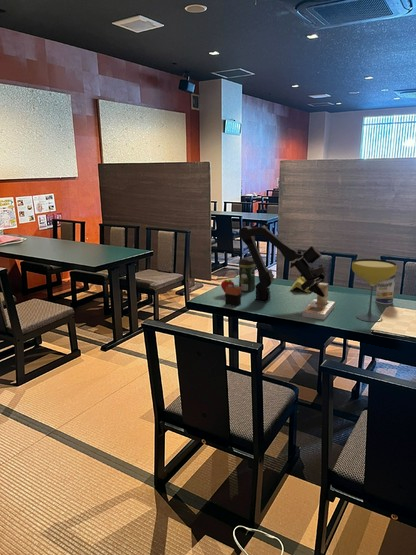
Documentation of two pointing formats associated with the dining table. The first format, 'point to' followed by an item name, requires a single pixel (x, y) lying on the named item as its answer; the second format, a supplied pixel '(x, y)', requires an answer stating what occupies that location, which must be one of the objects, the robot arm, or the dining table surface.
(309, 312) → the white flat box
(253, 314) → the dining table surface
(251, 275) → the coffee jar
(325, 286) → the peg
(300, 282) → the plastic component
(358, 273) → the cocktail glass
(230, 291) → the battery
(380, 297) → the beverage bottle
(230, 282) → the strawberry
